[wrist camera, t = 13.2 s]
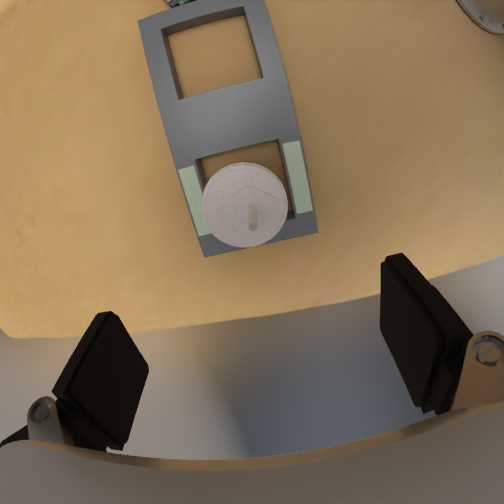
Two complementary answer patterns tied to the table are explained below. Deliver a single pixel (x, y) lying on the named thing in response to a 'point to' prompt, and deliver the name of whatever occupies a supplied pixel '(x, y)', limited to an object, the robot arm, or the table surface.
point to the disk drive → (178, 2)
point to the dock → (228, 113)
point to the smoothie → (244, 204)
